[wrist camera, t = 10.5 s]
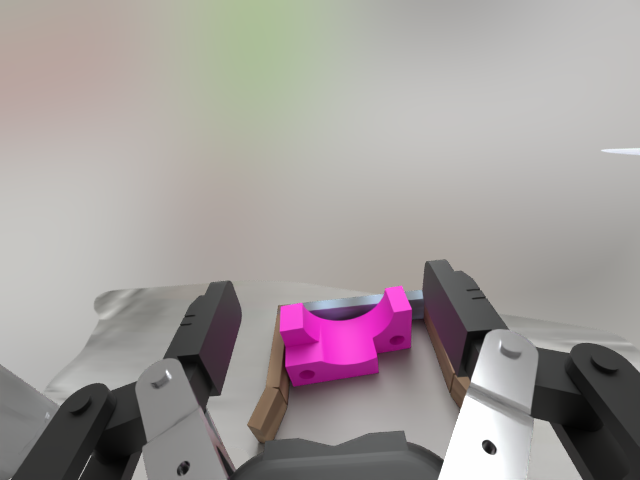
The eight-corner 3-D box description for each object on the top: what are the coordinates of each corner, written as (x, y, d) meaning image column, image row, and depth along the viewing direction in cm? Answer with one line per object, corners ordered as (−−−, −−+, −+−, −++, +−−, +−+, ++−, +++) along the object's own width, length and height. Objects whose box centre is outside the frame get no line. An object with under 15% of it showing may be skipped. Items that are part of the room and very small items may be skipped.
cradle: (257, 446, 31) (246, 430, 28) (276, 324, 43) (269, 306, 41) (494, 432, 28) (502, 413, 26) (440, 307, 41) (443, 287, 38)
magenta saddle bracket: (293, 387, 35) (278, 351, 31) (293, 342, 40) (280, 306, 36) (417, 367, 35) (419, 327, 30) (401, 324, 40) (401, 285, 36)
